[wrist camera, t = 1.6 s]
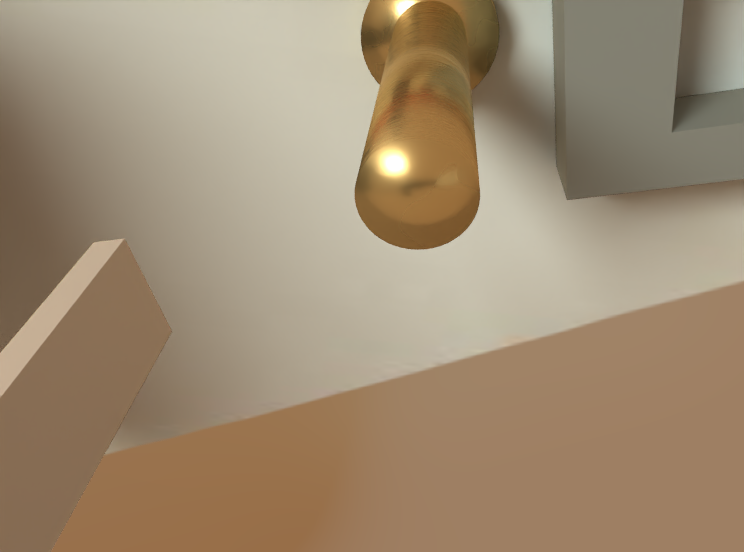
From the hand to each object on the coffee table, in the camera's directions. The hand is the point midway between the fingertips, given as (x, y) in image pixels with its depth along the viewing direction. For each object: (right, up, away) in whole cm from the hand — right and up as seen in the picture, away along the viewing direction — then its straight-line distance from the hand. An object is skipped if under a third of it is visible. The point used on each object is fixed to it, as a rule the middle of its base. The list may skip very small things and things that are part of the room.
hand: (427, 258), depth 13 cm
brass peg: (+1, +10, +13) cm, 16 cm away
